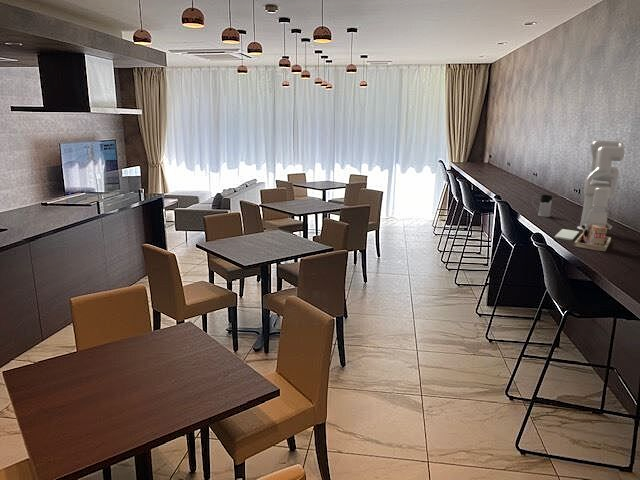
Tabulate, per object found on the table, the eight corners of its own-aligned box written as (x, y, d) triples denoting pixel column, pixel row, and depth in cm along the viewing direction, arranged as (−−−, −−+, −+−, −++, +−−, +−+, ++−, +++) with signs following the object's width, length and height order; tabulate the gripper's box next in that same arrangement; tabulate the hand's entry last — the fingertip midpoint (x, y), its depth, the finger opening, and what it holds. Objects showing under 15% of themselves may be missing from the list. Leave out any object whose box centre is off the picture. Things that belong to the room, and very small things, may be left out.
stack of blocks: (581, 238, 307) (584, 219, 304) (592, 239, 306) (596, 220, 303) (591, 247, 287) (595, 227, 284) (603, 248, 286) (607, 227, 282)
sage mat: (562, 230, 328) (562, 228, 328) (578, 232, 323) (579, 231, 322) (554, 237, 307) (554, 236, 307) (572, 240, 302) (572, 239, 302)
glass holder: (549, 217, 369) (552, 197, 365) (528, 214, 377) (531, 194, 373) (551, 215, 376) (554, 195, 373) (531, 212, 384) (534, 193, 380)
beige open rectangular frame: (581, 237, 312) (582, 233, 311) (610, 241, 303) (611, 237, 302) (573, 246, 289) (574, 242, 288) (604, 251, 280) (605, 247, 279)
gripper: (616, 210, 289) (610, 239, 293) (583, 206, 298) (578, 234, 303) (615, 211, 283) (609, 241, 287) (581, 207, 292) (576, 236, 297)
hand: (593, 237), depth 295 cm, fingers closed on stack of blocks, 8 cm apart
